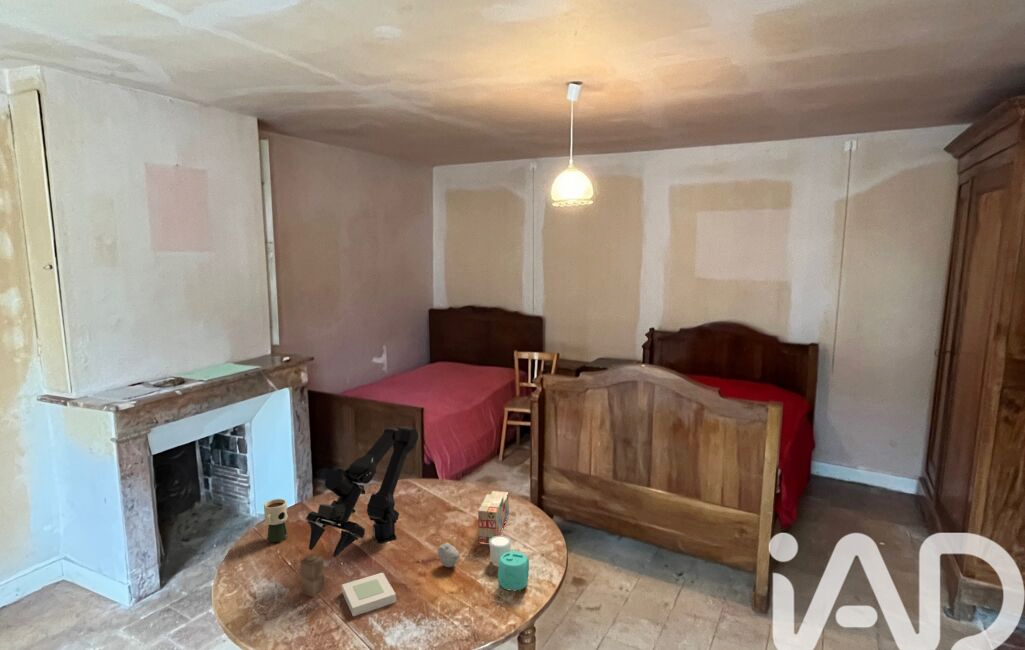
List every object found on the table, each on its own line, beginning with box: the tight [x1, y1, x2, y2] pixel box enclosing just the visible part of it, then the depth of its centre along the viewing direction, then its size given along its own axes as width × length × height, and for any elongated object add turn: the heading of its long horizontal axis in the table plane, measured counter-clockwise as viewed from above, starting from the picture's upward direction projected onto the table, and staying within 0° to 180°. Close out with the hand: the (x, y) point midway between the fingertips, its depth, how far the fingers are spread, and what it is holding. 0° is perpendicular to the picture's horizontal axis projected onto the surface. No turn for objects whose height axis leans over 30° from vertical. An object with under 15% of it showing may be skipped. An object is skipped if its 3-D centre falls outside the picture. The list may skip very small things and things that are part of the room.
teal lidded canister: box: [497, 550, 530, 591], centre depth 164 cm, size 8×8×8 cm
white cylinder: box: [488, 535, 512, 565], centre depth 175 cm, size 7×7×7 cm
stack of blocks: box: [477, 490, 510, 543], centre depth 195 cm, size 21×6×12 cm, turn 169°
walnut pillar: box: [299, 553, 326, 598], centre depth 160 cm, size 4×4×10 cm
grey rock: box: [437, 542, 460, 568], centre depth 173 cm, size 6×7×7 cm
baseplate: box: [341, 572, 397, 617], centre depth 158 cm, size 12×12×3 cm
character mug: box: [263, 498, 289, 543], centre depth 188 cm, size 11×7×13 cm, turn 175°
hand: (321, 553), depth 163 cm, fingers open, 9 cm apart
